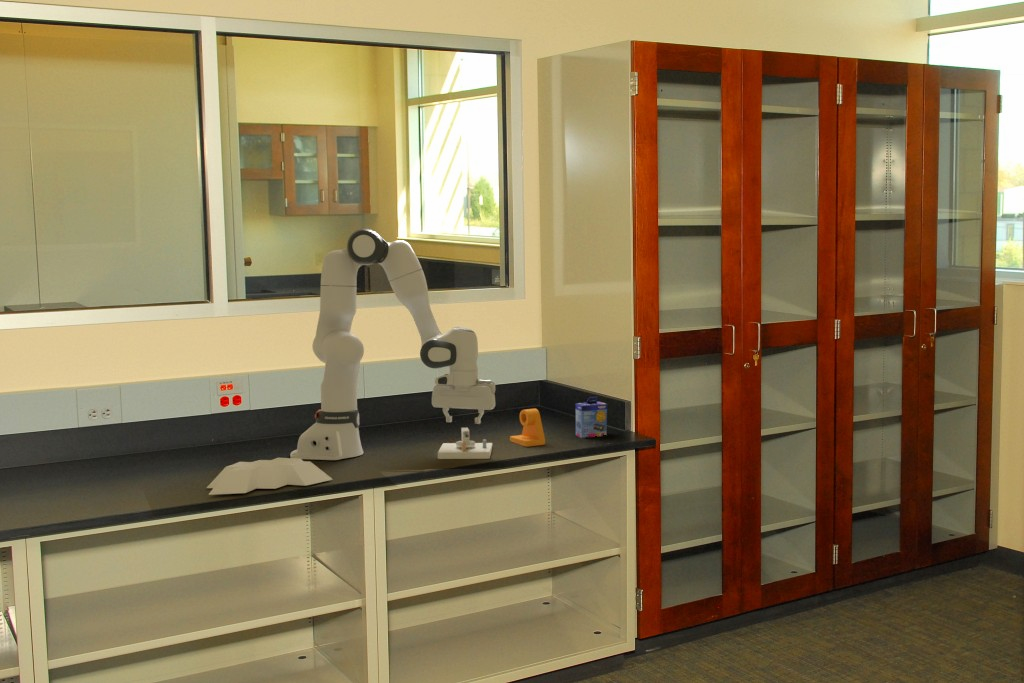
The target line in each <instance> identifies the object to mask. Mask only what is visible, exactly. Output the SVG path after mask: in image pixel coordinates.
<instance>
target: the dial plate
mask: <svg viewBox="0 0 1024 683" xmlns="http://www.w3.org/2000/svg"><path fill="white" fill-rule="evenodd" d="M492 449H493V442H487V439H485V438H484V439H482V442H475V447H474V448H466V443H462V448H457V447H456V442H452V443H450V442H446V443H445V442H443V443H442V445H440V448H439V450H437V460H475V459H477V460H485V459H487V460H489V459H490V458H491V453H492Z"/></svg>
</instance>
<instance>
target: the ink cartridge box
mask: <svg viewBox="0 0 1024 683" xmlns="http://www.w3.org/2000/svg"><path fill="white" fill-rule="evenodd" d="M598 398H599V396H591V397H588V399H587V401H586V402H578V403H577V402H576V403H575V436H577V437H578V438H581V439H583V438H584V439H586V437H587V438H596V437H595V436H597V437H604V436H603V435H606V436H608V435H607V433H608V432H607V430H608V428H607V425H608V421H607V420H608V419H607V418H608V403H606V402H602V401H598ZM593 399H594V400H593Z"/></svg>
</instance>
